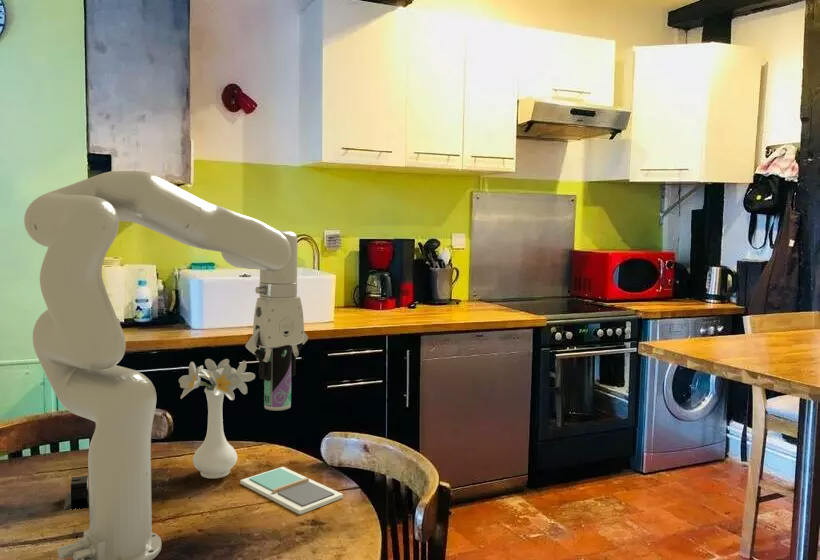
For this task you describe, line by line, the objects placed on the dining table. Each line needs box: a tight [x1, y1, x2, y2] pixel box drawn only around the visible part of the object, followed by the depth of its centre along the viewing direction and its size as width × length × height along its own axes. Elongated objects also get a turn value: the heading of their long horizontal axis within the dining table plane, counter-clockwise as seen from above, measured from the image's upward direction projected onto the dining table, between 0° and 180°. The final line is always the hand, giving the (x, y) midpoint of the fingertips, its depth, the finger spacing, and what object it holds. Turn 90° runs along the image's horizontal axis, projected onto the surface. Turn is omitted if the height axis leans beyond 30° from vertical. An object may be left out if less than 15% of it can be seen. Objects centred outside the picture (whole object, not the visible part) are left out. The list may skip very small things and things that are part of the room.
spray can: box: [263, 329, 292, 411], centre depth 143 cm, size 6×6×20 cm
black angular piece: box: [63, 475, 89, 511], centre depth 135 cm, size 12×7×5 cm, turn 23°
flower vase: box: [178, 358, 256, 480], centre depth 149 cm, size 13×18×25 cm
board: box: [240, 466, 344, 515], centre depth 142 cm, size 11×20×2 cm, turn 47°
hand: (277, 376), depth 143 cm, fingers closed on spray can, 5 cm apart
